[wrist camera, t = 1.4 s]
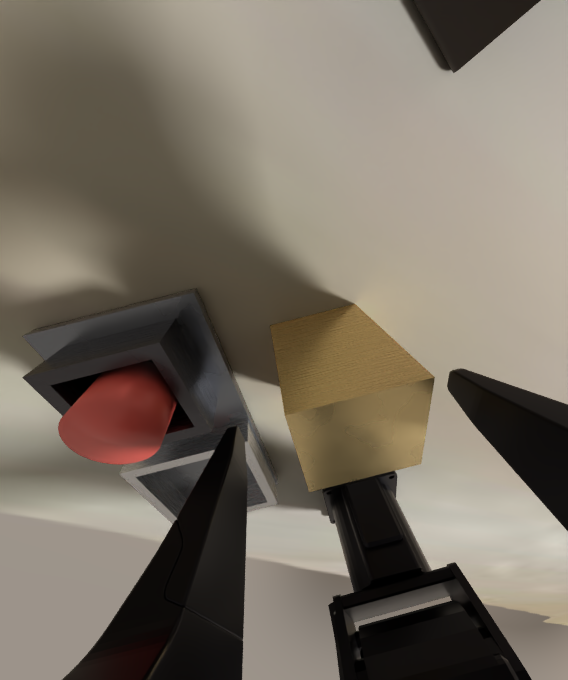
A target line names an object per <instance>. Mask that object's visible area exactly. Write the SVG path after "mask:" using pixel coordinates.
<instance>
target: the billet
mask: <svg viewBox="0 0 568 680" xmlns="http://www.w3.org/2000/svg"><path fill="white" fill-rule="evenodd" d="M270 328H271V334H272V340H273V346H274V352H275V358H276V364H277V370H278V376H279V382H280V388H281V394H282V400H283V406H284V412H285V417H286V420H287V423H288V426H289V430H290V433H291V436H292V439H293V442H294V445H295V449H296V452H297V455H298V458H299V461H300V464H301V468H302V471H303V474H304V477H305V480H306V483H307V486H308V490H309V492H312V491H316V490H320V489H324V488H328V487H332V486H336V485H340V484H344V483H348V482H352V481H356V480H359V479H363V478H367V477H371V476H375V475H379V474H383V473H387V472H391V471H395V470H399V469H403V468H407V467H411V466H414V465H418V464H421V460H422V454H423V448H424V442H425V435H426V429H427V423H428V416H429V410H430V404H431V397H432V391H433V385H434V378H435V377H434V376H433V375H432V374H431V373H430V372H428V371H427V370H426V369H425V368H424V367H423V366H422V365H421V364H420V363H419V362H418V361H416V360H415V359H414V358H413V357H412V356H411V355H410V354H409V353H408V352H407V351H406V350H405V349H403V348H402V347H401V346H400V345H399V344H398V343H397V342H396V341H395V340H394V339H393V338H391V337H390V336H389V335H388V334H387V333H386V332H385V331H384V330H383V329H382V328H381V327H380V326H378V325H377V324H376V323H375V322H374V321H373V320H372V319H371V318H370V317H369V316H368V315H366V314H365V313H364V312H363V311H362V310H361V309H360V308H359V307H358V306H357V305H356V304H352V305H348V306H345V307H341V308H337V309H333V310H329V311H325V312H321V313H317V314H313V315H309V316H305V317H301V318H297V319H294V320H290V321H286V322H282V323H278V324H274V325H270Z"/></svg>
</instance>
